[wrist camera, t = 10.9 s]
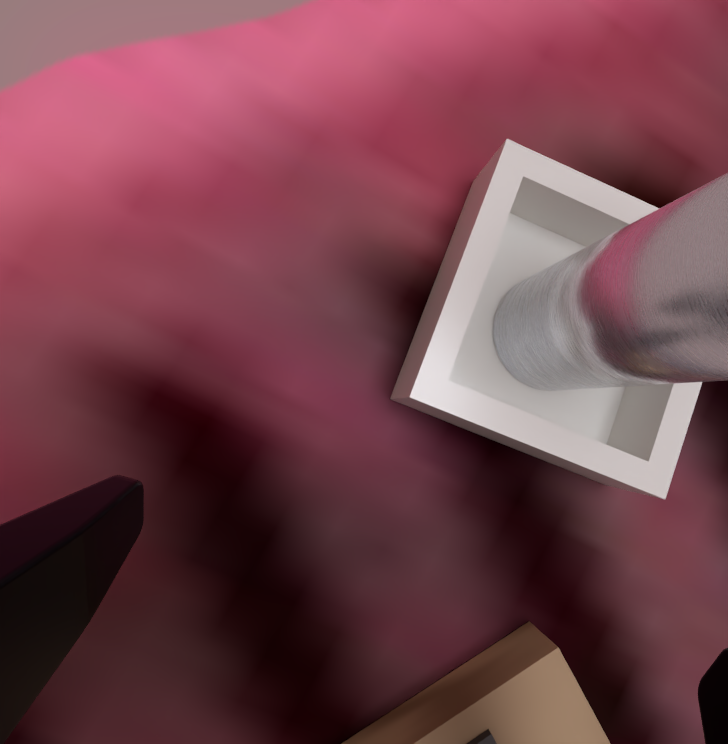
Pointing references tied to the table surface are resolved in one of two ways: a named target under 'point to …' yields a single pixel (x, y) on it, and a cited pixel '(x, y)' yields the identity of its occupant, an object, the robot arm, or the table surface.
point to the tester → (496, 701)
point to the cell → (628, 304)
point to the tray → (476, 342)
